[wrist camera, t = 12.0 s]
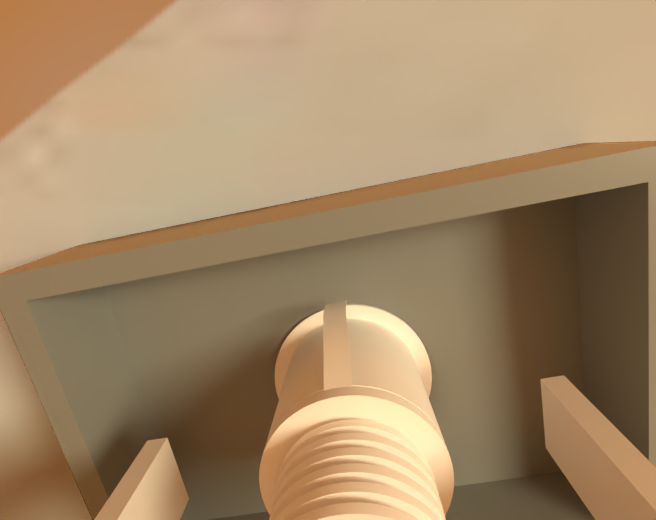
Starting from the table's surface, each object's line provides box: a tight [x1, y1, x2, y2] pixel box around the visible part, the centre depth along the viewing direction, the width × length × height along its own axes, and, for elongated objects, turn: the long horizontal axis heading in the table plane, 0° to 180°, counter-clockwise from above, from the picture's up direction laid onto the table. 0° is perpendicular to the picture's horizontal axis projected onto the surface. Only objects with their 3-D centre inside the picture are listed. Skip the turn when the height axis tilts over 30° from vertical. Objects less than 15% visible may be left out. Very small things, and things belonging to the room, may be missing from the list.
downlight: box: [259, 301, 454, 520], centre depth 14 cm, size 8×7×10 cm
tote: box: [0, 141, 656, 520], centre depth 17 cm, size 22×16×5 cm
